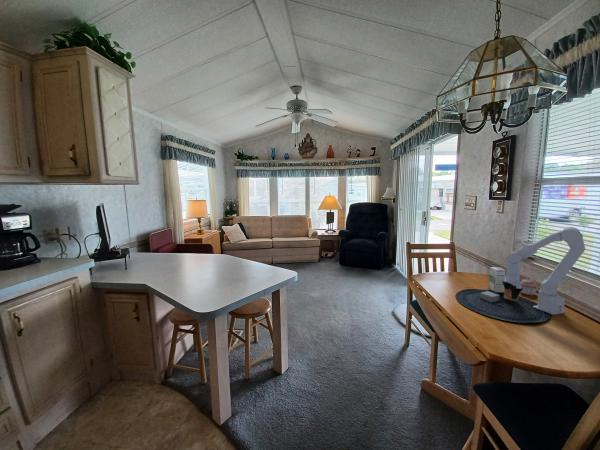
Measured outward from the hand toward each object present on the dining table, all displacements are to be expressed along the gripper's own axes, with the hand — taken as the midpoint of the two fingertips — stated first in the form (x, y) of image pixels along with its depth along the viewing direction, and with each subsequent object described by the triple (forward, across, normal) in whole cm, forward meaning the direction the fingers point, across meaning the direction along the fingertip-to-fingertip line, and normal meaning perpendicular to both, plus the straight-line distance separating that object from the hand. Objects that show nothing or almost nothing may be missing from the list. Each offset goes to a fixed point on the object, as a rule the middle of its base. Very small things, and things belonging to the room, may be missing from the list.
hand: (511, 296), depth 144 cm
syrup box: (+3, -16, -1) cm, 16 cm away
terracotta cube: (+2, 0, 0) cm, 2 cm away
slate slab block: (+3, 0, -10) cm, 11 cm away
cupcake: (+3, -14, +15) cm, 21 cm away
